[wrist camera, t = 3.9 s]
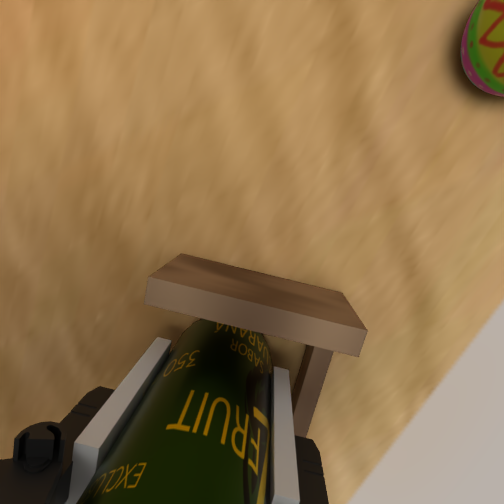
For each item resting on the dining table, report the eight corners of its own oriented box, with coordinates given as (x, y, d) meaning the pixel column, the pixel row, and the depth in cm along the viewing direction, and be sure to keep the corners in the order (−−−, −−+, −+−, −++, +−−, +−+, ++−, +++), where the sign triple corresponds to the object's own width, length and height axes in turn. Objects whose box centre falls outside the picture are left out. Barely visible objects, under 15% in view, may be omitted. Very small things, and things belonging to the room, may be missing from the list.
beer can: (237, 410, 18) (174, 802, 7) (162, 361, 18) (-44, 682, 6) (290, 344, 17) (327, 675, 6) (211, 291, 17) (73, 521, 5)
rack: (151, 413, 19) (114, 481, 14) (181, 253, 17) (148, 276, 12) (292, 449, 19) (299, 530, 14) (342, 293, 16) (367, 330, 12)
